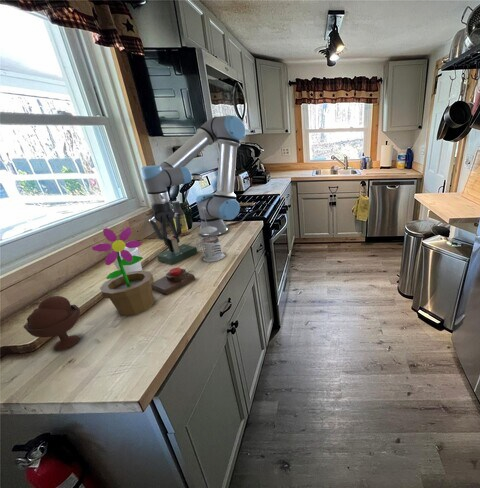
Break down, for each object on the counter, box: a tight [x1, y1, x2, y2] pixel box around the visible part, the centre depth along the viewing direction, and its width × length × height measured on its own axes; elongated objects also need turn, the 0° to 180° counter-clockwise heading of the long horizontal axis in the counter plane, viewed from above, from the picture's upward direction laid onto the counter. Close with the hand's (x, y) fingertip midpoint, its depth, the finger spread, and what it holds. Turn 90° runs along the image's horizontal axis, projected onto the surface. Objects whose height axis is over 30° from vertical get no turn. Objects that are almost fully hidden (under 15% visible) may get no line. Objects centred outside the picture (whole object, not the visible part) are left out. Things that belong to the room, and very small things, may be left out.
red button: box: [168, 267, 182, 276], centre depth 102 cm, size 4×4×2 cm
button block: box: [151, 268, 196, 296], centre depth 102 cm, size 12×10×4 cm
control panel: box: [156, 243, 199, 265], centre depth 125 cm, size 14×11×3 cm
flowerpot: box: [91, 226, 155, 317], centre depth 84 cm, size 14×14×30 cm
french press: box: [196, 207, 226, 263], centre depth 118 cm, size 10×12×25 cm
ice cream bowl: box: [23, 295, 81, 352], centre depth 71 cm, size 11×11×15 cm
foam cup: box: [110, 247, 143, 273], centre depth 104 cm, size 10×9×13 cm
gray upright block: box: [167, 235, 180, 254], centre depth 122 cm, size 6×2×7 cm, turn 51°
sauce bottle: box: [171, 200, 189, 237], centre depth 150 cm, size 6×6×20 cm
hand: (174, 250), depth 124 cm, fingers closed on gray upright block, 2 cm apart
